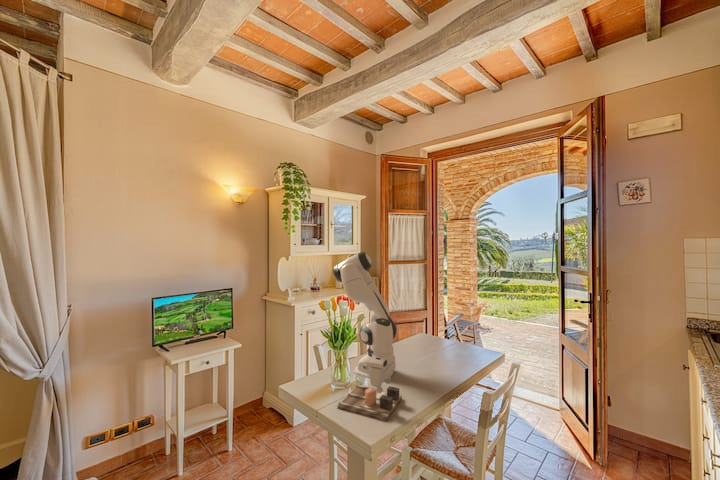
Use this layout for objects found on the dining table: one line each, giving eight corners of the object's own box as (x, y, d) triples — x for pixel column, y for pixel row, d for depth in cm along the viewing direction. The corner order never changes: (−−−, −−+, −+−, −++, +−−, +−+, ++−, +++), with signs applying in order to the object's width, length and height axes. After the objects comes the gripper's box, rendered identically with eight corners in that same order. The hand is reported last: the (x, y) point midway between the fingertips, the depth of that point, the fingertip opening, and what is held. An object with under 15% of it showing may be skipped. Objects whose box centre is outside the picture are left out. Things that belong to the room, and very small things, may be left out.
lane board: (337, 408, 141) (337, 403, 141) (357, 388, 159) (357, 384, 159) (386, 421, 131) (386, 416, 131) (401, 398, 149) (401, 394, 149)
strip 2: (367, 398, 147) (367, 386, 147) (373, 391, 153) (373, 380, 153) (395, 405, 141) (395, 393, 141) (400, 397, 147) (400, 386, 147)
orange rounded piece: (363, 405, 139) (363, 392, 139) (368, 400, 144) (368, 387, 144) (373, 408, 137) (373, 394, 137) (378, 402, 142) (377, 389, 141)
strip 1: (359, 407, 139) (359, 395, 139) (366, 400, 145) (366, 388, 145) (388, 415, 133) (388, 402, 133) (394, 407, 139) (394, 395, 139)
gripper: (386, 347, 147) (386, 376, 148) (367, 363, 129) (367, 396, 129) (398, 349, 144) (399, 379, 145) (380, 366, 126) (381, 399, 126)
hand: (384, 387), depth 137 cm, fingers open, 8 cm apart
